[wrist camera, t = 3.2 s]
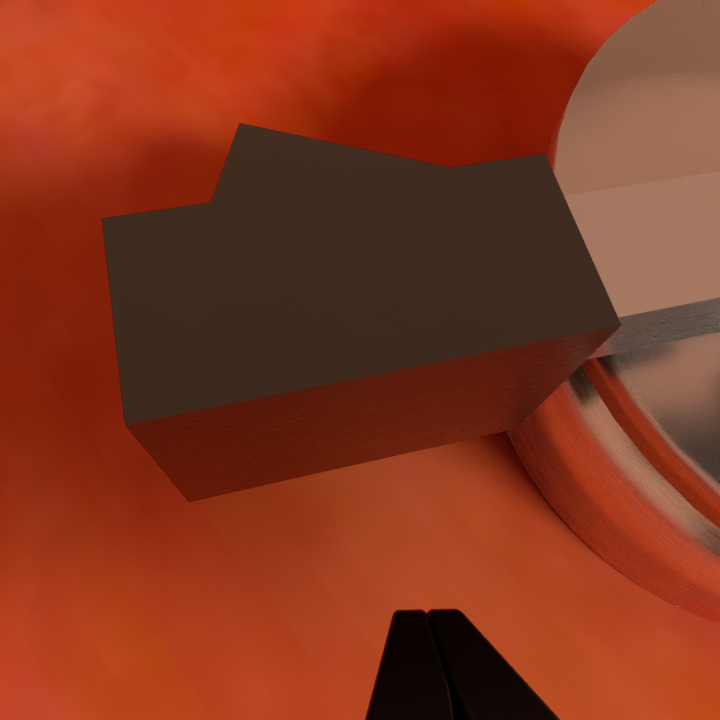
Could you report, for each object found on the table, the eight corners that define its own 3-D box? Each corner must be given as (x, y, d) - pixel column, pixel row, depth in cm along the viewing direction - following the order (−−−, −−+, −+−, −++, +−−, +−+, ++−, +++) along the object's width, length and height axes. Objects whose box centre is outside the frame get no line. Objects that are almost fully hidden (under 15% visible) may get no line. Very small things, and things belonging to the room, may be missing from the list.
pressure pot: (1005, 225, 23) (1197, 112, 18) (1137, 714, 17) (1494, 747, 12) (297, 75, 23) (295, -78, 18) (158, 505, 17) (97, 449, 12)
